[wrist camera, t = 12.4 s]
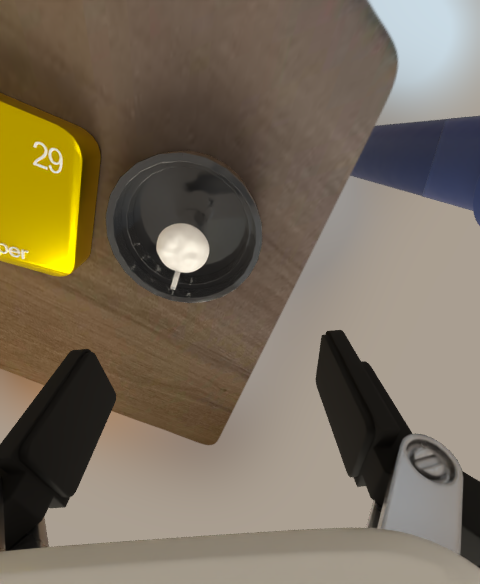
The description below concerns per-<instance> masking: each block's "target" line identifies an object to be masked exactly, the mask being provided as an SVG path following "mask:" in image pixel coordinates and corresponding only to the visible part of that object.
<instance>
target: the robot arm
mask: <svg viewBox="0 0 480 584" xmlns="http://www.w3.org/2000/svg"><path fill="white" fill-rule="evenodd" d="M316 385H317V388H318V391H319V394H320V397H321V400H322V403H323V406H324V408H325V411H326V414H327V417H328V419H329V423H330V425H331V428H332V431H333V434H334V437H335V440H336V443H337V446H338V448H339V451H340V454H341V457H342V459H343V463H344V465H345V468H346V471H347V473H348V475H349V476H350V477H354V479H355V482H356V485H357V486H358V487H360V486H367V489H368V492H369V494H370V497H371V498H372V499H373V500H374V501H373V505H372V508H371V512H370V516H369V519H368V523H367V527H366V528H332V529H307V530H289V531H274V532H257V533H242V534H226V535H212V536H196V537H181V538H167V539H153V540H138V541H124V542H110V543H97V544H83V545H70V546H57V547H49V545H48V538H47V532H46V526H45V519H44V516H45V513H46V512H47V510H48V508H59V507H66V505H67V503H68V500H69V498H70V497H71V496H73V495H74V493H75V492H76V490H77V488H78V486H79V483H80V481H81V479H82V476H83V474H84V472H85V470H86V467H87V465H88V463H89V461H90V458H91V456H92V454H93V451H94V449H95V447H96V444H97V442H98V440H99V437H100V435H101V433H102V431H103V429H104V426H105V424H106V422H107V419H108V417H109V415H110V413H111V410H112V408H113V406H114V403H115V401H116V393H115V391H114V389H113V387H112V385H111V383H110V382H109V380H108V378H107V376H106V374H105V372H104V370H103V368H102V366H101V365H100V363H99V361H98V359H97V357H96V355H95V354H94V353H93V352H91V351H90V350H89V349H82V350H73V351H71V352H70V353H69V354H68V355H67V357H66V358H65V359H64V361H63V362H62V363H61V365H60V366H59V367H58V369H57V370H56V371H55V373H54V374H53V375H52V376H51V378H50V379H49V380H48V382H47V383H46V384H45V386H44V387H43V388H42V390H41V391H40V392H39V394H38V395H37V396H36V398H35V399H34V400H33V402H32V403H31V404H30V406H29V407H28V408H27V410H26V411H25V413H24V414H23V415H22V416H21V418H20V419H19V420H18V422H17V423H16V424H15V426H14V427H13V428H12V430H11V431H10V432H9V434H8V435H7V436H6V438H5V439H4V440H3V442H2V443H1V444H0V584H480V482H479V481H478V480H476V479H474V478H473V477H471V476H469V475H468V474H466V473H464V472H463V471H462V468H461V466H460V464H459V462H458V460H457V459H456V458H455V456H454V455H453V454H452V453H451V452H450V450H448V449H447V448H446V447H445V446H444V445H443V444H441V443H440V442H438V441H437V440H435V439H433V438H431V437H428V436H426V435H422V434H412V432H411V431H410V429H409V428H408V426H407V424H406V423H405V421H404V420H403V418H402V416H401V415H400V413H399V411H398V410H397V408H396V406H395V405H394V403H393V401H392V400H391V398H390V397H389V395H388V393H387V392H386V390H385V389H384V387H383V385H382V384H381V382H380V380H379V379H378V378H377V376H376V374H375V372H374V371H373V369H372V368H371V366H370V365H369V364H368V363H367V362H361V361H360V359H359V358H358V356H357V354H356V352H355V351H354V349H353V347H352V346H351V344H350V342H349V341H348V339H347V337H346V336H345V334H344V332H343V331H342V330H335V331H327V332H326V335H322V338H321V345H320V352H319V359H318V366H317V374H316Z"/></svg>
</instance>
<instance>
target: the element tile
mask: <svg viewBox="0 0 480 584" xmlns="http://www.w3.org/2000/svg"><path fill="white" fill-rule="evenodd" d="M100 161H101V155H100V150H99V146H98V144H97V142H96V141H95V139H94V137H93V136H92V135H90V134H89V133H88V132H87V131H86V130H84V129H83V128H81V127H79V126H77V125H75V124H73V123H70V122H68V121H65V120H63V119H61V118H58V117H56V116H54V115H51V114H49V113H47V112H44V111H42V110H40V109H37V108H35V107H32V106H30V105H28V104H25V103H23V102H21V101H18V100H16V99H14V98H11V97H9V96H6V95H4V94H2V93H0V261H3V262H7V263H10V264H14V265H17V266H21V267H24V268H28V269H31V270H35V271H39V272H42V273H46V274H49V275H53V276H66V275H69V274H71V273H72V272H73V271H74V270H76V269H77V268H78V267H79V266H80V265H81V264H82V263H84V262H85V261H86V260H87V258H88V257H89V256H90V253H91V244H92V235H93V226H94V217H95V207H96V198H97V189H98V180H99V171H100Z"/></svg>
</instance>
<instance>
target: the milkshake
mask: <svg viewBox="0 0 480 584" xmlns="http://www.w3.org/2000/svg"><path fill="white" fill-rule="evenodd" d="M156 250H157V253H158V255H159V257H160V259H161V261H162V262H163V263H164V265H166V266H167V267H168V268H170V269H172V270H174V271H175V274H174V277H173V281H172V284H171V287H170V289H173V290H175V289H176V286H177V283H178V280H179V276H180V273H181V272H183V273H189V272H193V271H196V270H198V269H199V268H201V267H202V266H203V265H204V264H205V262H206V261H207V258H208V255H209V243H208V226H207V221H206V219H205V216H204V215H203V214H202V213H201V212H199V211H198V210H186V211H185V212H184V213H182V214H181V215H180V216H179V217H178V218H177V219H176V220H175V221H174V222H173V223H171V224H170V225H169V226H168V227H166V228H165V229H164V230H163V231H162V232H161V233H160V235H159V237H158V240H157V245H156Z"/></svg>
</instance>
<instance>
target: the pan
mask: <svg viewBox="0 0 480 584" xmlns="http://www.w3.org/2000/svg"><path fill="white" fill-rule="evenodd" d="M186 210H198V211H199V212H201V213H202V214H203V215H204V216H205V219H206V221H207V226H208V243H209V255H208V258H207V261H206V262H205V264H204V265H203V266H202V267H201V268H199V269H198V270H196V271H193V272H189V273H183V272H181V273H180V276H179V280H178V283H177V286H176V289H175V290H173V289H170V287H171V284H172V281H173V277H174V274H175V271H174V270H172V269H170V268H168V267H167V266H166V265H164V263H163V262H162V261H161V259H160V257H159V255H158V253H157V250H156V245H157V240H158V237H159V235H160V233H161V232H162V231H163V230H164V229H165V228H166V227H168V226H169V225H170V224H171V223H173V222H174V221H175V220H176V219H177V218H178V217H179V216H180V215H181V214H182V213H184V212H185V211H186ZM106 228H107V236H108V240H109V243H110V246H111V248H112V251H113V254H114V256H115V258H116V259H117V261H118V262H119V264H120V265H121V267H122V268H123V270H124V271H125V272H126V273H127V274H128V275H129V276H130V277H131V278H132V279H133V280H134V281H135V282H136V283H137V284H138V285H140V286H141V287H143V288H145V289H146V290H148V291H150V292H151V293H153V294H155V295H157V296H160V297H163V298H165V299H168V300H171V301H177V302H185V303H197V302H208V301H211V300H214V299H217V298H220V297H223V296H225V295H226V294H228V293H230V292H231V291H233V290H235V289H236V288H237V287H239V286H240V285H241V284H242V283H243V281H244V280H245V279H246V278H247V277H248V276H249V275H250V273H251V272H252V270H253V268H254V266H255V265H256V263H257V260H258V258H259V254H260V250H261V246H262V222H261V219H260V216H259V212H258V209H257V206H256V203H255V201H254V199H253V197H252V195H251V193H250V191H249V190H248V188H247V186H246V185H245V183H244V182H243V180H242V179H241V177H239V176H238V175H237V174H236V173H235V172H234V171H233V170H232V169H231V168H230V167H229V166H228V165H227V164H225V163H223V162H221V161H219V160H218V159H216V158H214V157H212V156H210V155H208V154H203V153H199V152H194V151H188V150H186V151H174V152H166V153H161V154H157V155H155V156H152V157H150V158H148V159H145V160H143V161H140V162H138V163H136V164H135V165H134V166H133V167H132V168H131V169H129V170H128V171H127V172H126V173H125V174H124V175H123V176H121V178H120V179H119V181H118V182H117V184H116V186H115V188H114V189H113V191H112V193H111V195H110V198H109V202H108V207H107V212H106Z"/></svg>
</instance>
